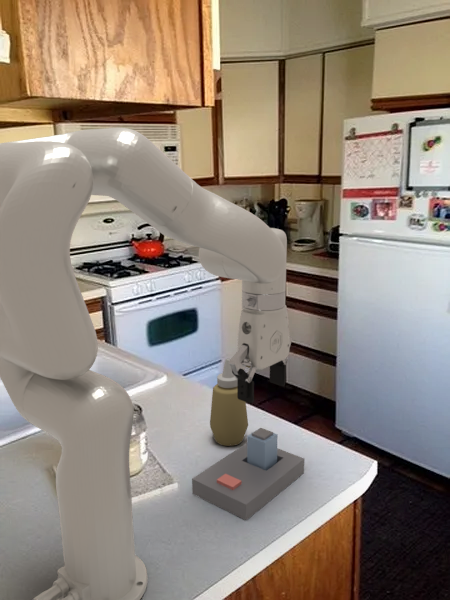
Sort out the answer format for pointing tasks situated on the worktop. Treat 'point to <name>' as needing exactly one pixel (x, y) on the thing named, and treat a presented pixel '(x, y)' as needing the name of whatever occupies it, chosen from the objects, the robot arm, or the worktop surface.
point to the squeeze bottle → (227, 410)
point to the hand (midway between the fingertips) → (262, 392)
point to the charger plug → (262, 449)
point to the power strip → (246, 482)
